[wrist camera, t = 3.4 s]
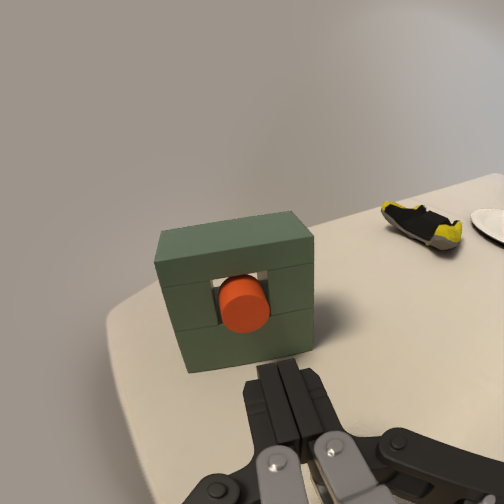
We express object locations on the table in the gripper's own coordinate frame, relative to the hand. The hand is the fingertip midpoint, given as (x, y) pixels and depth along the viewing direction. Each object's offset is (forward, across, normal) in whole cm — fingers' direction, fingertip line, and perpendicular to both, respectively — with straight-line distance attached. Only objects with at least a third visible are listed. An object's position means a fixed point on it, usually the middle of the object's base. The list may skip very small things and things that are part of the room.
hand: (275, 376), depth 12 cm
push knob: (+12, 0, +6) cm, 13 cm away
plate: (+24, -55, +12) cm, 61 cm away
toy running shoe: (+29, -32, +12) cm, 45 cm away
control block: (+15, 0, +12) cm, 19 cm away
